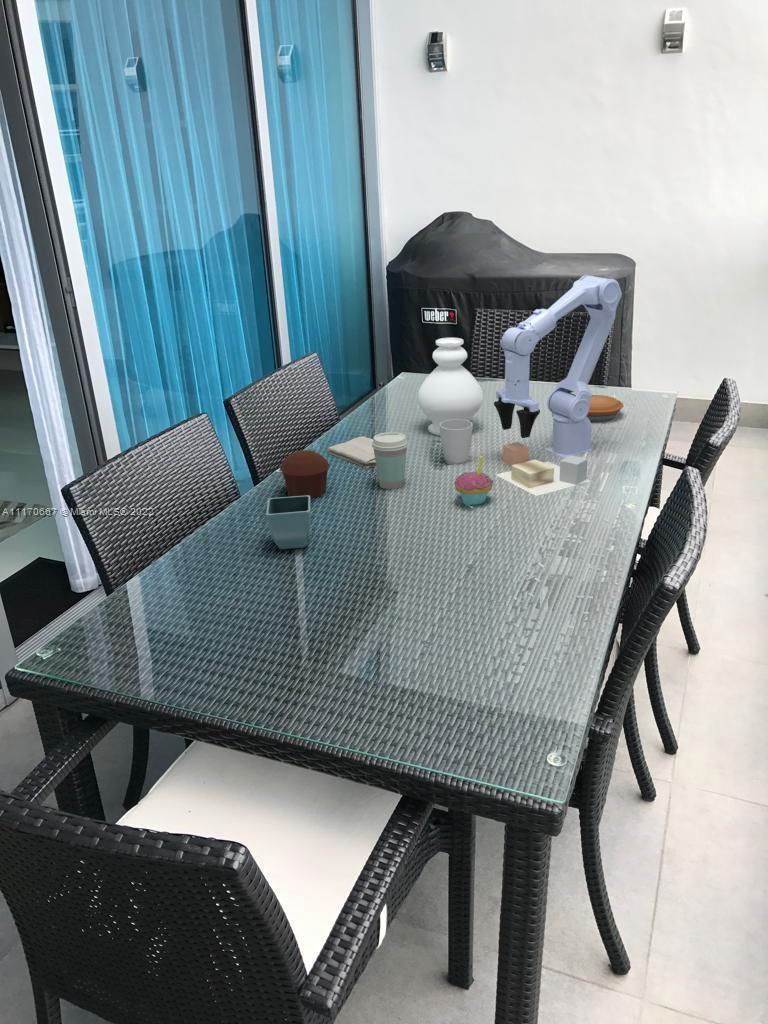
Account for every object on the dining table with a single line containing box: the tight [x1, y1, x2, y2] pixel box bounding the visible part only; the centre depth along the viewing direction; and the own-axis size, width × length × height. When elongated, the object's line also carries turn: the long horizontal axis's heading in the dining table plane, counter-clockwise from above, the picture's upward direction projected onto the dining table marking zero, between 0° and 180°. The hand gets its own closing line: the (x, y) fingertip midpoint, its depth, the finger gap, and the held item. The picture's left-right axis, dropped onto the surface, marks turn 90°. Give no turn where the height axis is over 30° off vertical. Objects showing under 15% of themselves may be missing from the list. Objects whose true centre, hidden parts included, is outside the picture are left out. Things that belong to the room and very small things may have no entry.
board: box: [495, 461, 591, 497], centre depth 208 cm, size 16×16×1 cm
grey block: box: [559, 455, 588, 486], centre depth 204 cm, size 4×4×5 cm
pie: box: [586, 394, 624, 423], centre depth 250 cm, size 15×16×5 cm
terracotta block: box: [502, 441, 530, 467], centre depth 217 cm, size 4×4×5 cm
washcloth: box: [326, 436, 377, 470], centre depth 228 cm, size 12×18×3 cm, turn 41°
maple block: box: [511, 459, 554, 488], centre depth 205 cm, size 7×7×4 cm
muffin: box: [279, 449, 331, 501], centre depth 205 cm, size 12×11×10 cm
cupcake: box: [454, 453, 494, 507], centre depth 195 cm, size 9×8×12 cm
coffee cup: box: [372, 431, 409, 490], centre depth 207 cm, size 8×9×12 cm
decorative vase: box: [417, 337, 484, 437], centre depth 240 cm, size 18×18×25 cm
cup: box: [440, 419, 473, 466], centre depth 219 cm, size 8×8×10 cm
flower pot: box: [265, 495, 311, 550], centre depth 180 cm, size 9×9×9 cm
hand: (515, 433), depth 214 cm, fingers open, 7 cm apart
